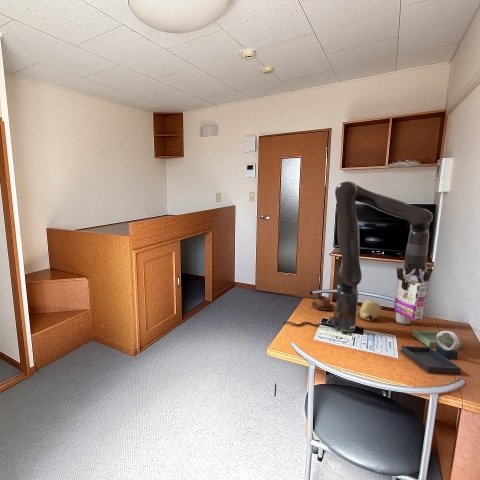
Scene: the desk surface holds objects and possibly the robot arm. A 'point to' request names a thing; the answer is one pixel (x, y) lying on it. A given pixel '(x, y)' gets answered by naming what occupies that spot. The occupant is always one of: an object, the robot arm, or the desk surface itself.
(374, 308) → the yellow quince
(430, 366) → the charcoal tray
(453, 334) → the watch
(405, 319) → the travel mug
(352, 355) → the desk surface
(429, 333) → the sage tray
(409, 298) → the candy bar box
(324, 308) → the cup and saucer
